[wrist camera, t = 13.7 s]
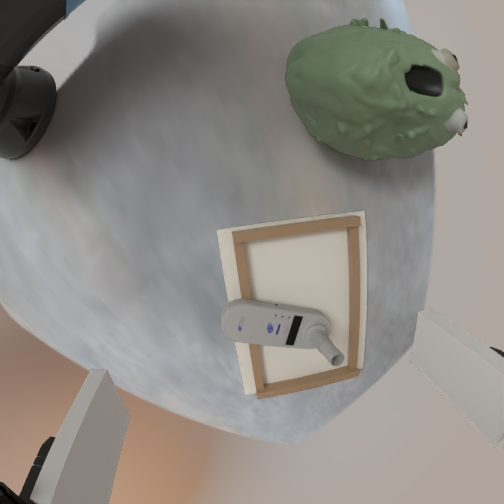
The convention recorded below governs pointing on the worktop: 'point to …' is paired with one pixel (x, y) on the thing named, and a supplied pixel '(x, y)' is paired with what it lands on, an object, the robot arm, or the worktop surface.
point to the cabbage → (376, 91)
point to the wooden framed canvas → (300, 294)
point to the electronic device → (279, 327)
